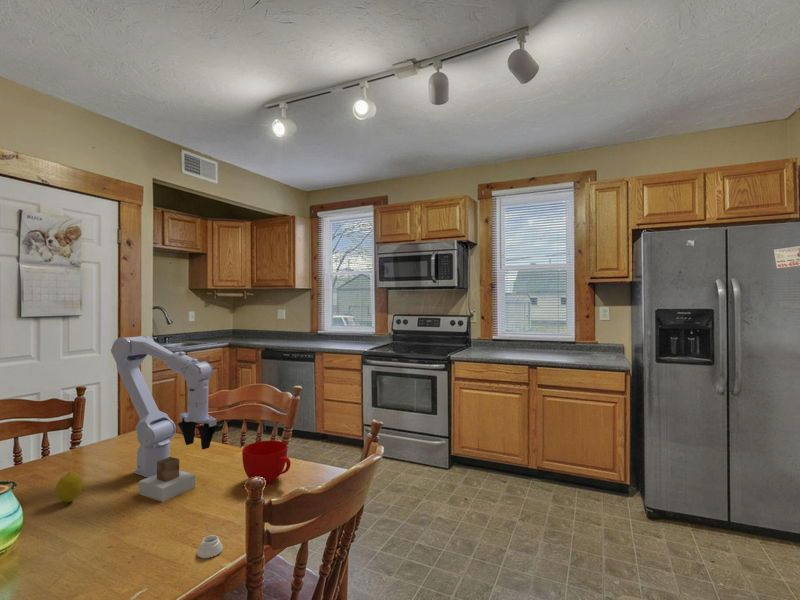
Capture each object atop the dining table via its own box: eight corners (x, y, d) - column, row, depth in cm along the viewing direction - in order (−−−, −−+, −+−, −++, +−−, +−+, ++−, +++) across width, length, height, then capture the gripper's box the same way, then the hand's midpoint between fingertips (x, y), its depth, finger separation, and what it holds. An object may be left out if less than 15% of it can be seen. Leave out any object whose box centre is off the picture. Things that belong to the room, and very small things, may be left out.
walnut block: (156, 479, 117) (156, 461, 117) (169, 473, 120) (169, 456, 120) (166, 482, 115) (166, 464, 115) (179, 476, 119) (179, 459, 119)
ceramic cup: (271, 498, 114) (271, 461, 114) (232, 483, 123) (232, 449, 123) (305, 481, 125) (305, 448, 125) (267, 468, 134) (267, 437, 134)
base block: (139, 495, 115) (139, 481, 115) (172, 481, 124) (172, 468, 124) (162, 503, 111) (162, 488, 111) (195, 488, 120) (195, 474, 120)
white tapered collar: (213, 543, 92) (192, 555, 88) (213, 530, 92) (192, 541, 88) (227, 550, 90) (206, 562, 86) (227, 537, 90) (206, 548, 86)
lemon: (87, 499, 112) (87, 470, 112) (64, 509, 106) (65, 478, 106) (73, 496, 113) (73, 467, 113) (50, 505, 108) (50, 475, 108)
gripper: (170, 401, 127) (170, 446, 127) (202, 407, 120) (201, 454, 120) (191, 397, 133) (191, 439, 133) (222, 402, 126) (222, 447, 126)
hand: (197, 446), depth 127 cm, fingers open, 7 cm apart
